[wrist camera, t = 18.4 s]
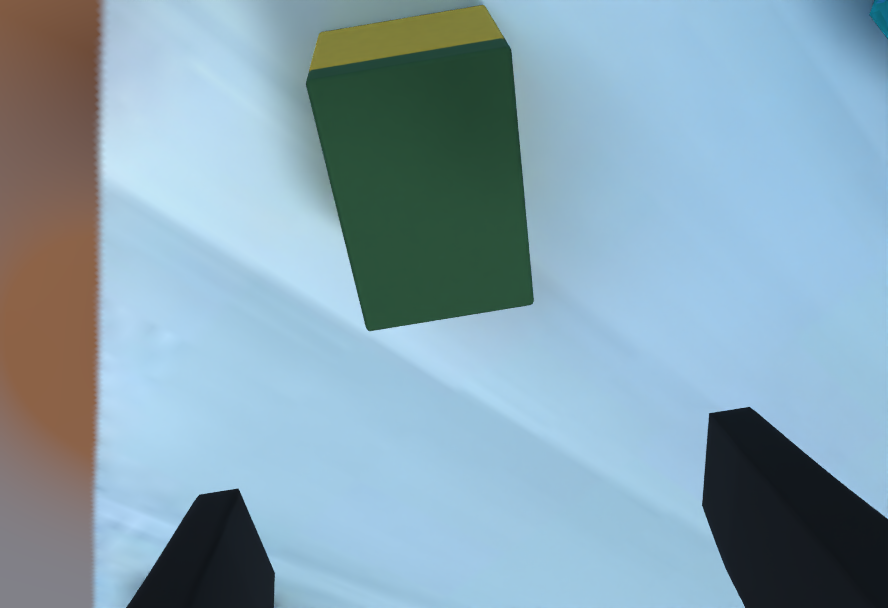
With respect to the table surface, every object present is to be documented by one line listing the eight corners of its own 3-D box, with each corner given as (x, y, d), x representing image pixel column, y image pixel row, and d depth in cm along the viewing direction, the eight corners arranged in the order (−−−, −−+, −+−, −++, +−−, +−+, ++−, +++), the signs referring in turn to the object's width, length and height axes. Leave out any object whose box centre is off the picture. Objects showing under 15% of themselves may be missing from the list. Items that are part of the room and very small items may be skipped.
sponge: (485, 3, 17) (511, 46, 14) (508, 228, 21) (534, 306, 17) (317, 31, 17) (304, 81, 14) (368, 251, 21) (366, 333, 17)
